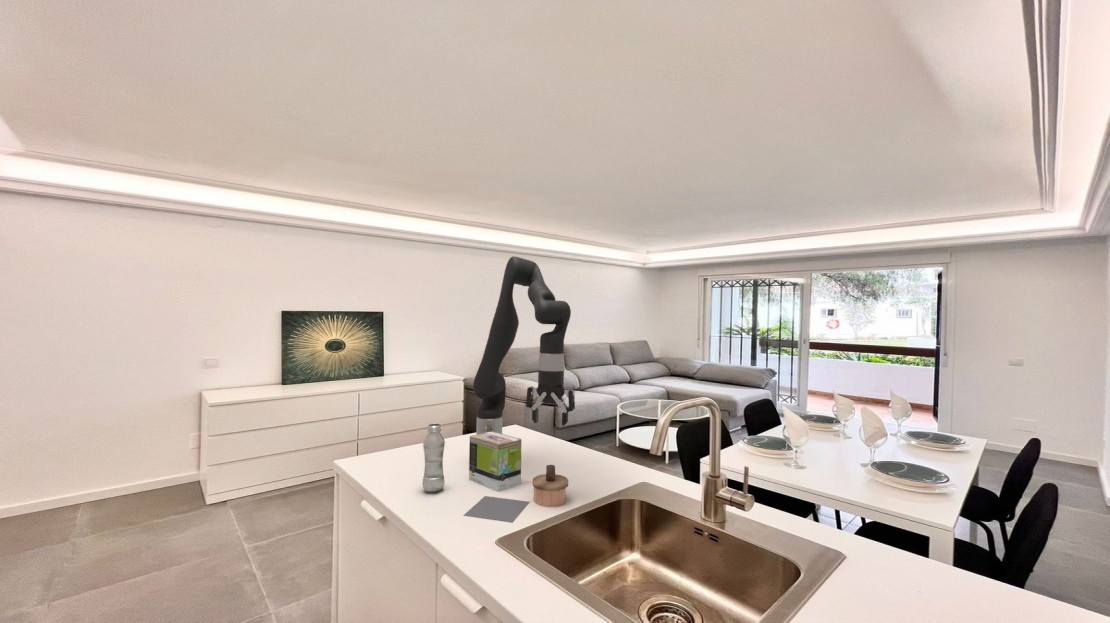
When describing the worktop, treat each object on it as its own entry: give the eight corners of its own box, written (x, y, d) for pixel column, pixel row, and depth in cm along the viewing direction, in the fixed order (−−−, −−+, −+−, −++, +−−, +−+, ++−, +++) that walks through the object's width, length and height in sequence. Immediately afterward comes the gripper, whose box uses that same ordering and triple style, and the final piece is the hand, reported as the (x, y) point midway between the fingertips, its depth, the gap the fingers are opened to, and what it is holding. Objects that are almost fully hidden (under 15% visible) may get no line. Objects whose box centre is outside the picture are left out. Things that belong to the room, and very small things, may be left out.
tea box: (522, 484, 148) (522, 438, 148) (497, 493, 141) (498, 444, 141) (491, 473, 159) (492, 429, 159) (467, 480, 151) (468, 435, 151)
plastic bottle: (449, 488, 144) (450, 423, 144) (434, 496, 138) (435, 428, 138) (432, 485, 147) (433, 421, 147) (417, 492, 140) (418, 426, 141)
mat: (463, 516, 124) (463, 515, 124) (484, 497, 138) (484, 495, 138) (512, 524, 120) (512, 522, 120) (529, 503, 134) (529, 501, 134)
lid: (527, 488, 132) (528, 470, 132) (538, 476, 142) (538, 459, 142) (563, 492, 129) (563, 473, 129) (571, 480, 139) (572, 462, 139)
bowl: (530, 506, 132) (531, 488, 132) (537, 494, 141) (538, 477, 141) (562, 509, 130) (562, 491, 130) (567, 497, 139) (567, 480, 139)
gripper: (524, 368, 135) (522, 424, 135) (571, 371, 131) (570, 429, 131) (532, 365, 142) (531, 419, 142) (577, 368, 138) (576, 423, 138)
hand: (549, 423), depth 137 cm, fingers open, 8 cm apart
